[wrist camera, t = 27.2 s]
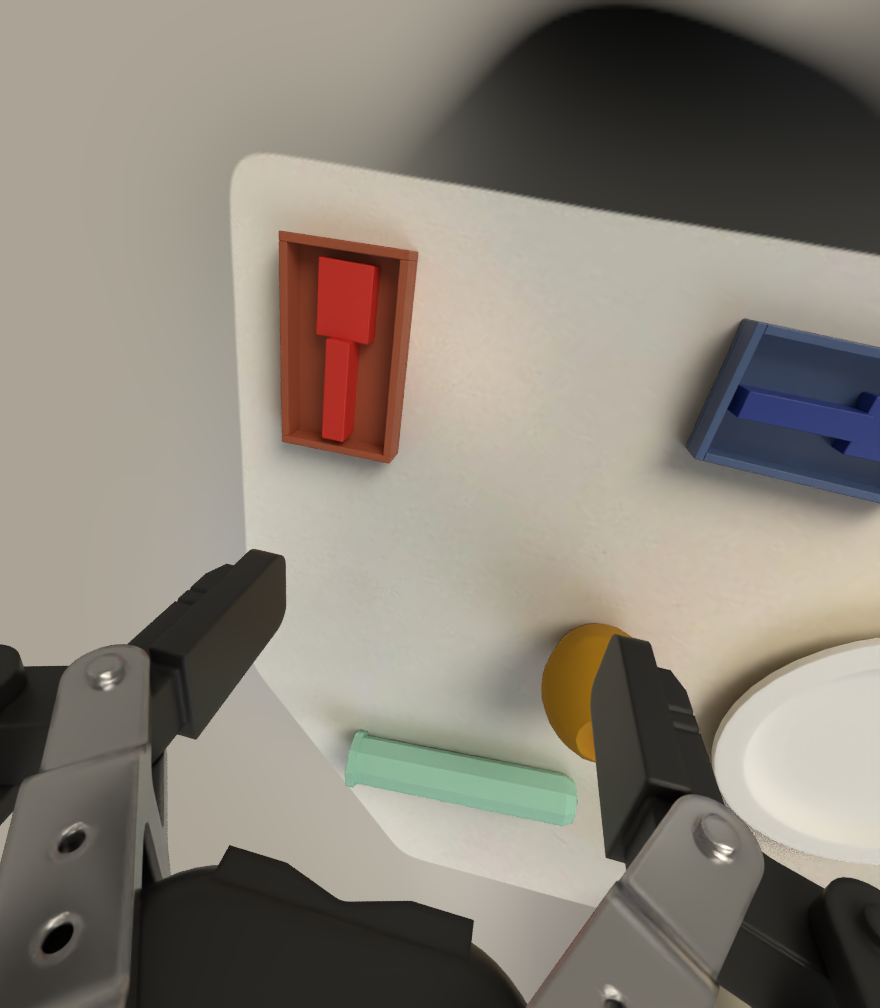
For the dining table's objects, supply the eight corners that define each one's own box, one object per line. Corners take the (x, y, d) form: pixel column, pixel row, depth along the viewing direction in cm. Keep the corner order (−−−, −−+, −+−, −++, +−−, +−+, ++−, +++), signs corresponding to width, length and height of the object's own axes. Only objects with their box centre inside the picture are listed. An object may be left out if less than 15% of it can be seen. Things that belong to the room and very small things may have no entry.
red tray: (295, 232, 35) (278, 230, 33) (418, 251, 34) (409, 250, 32) (295, 432, 42) (281, 441, 40) (398, 453, 41) (389, 463, 39)
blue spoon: (718, 423, 34) (730, 433, 32) (743, 367, 33) (757, 373, 31) (909, 463, 33) (934, 476, 31) (947, 407, 31) (976, 417, 29)
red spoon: (366, 436, 40) (356, 445, 38) (320, 426, 41) (308, 434, 38) (381, 266, 34) (370, 266, 32) (327, 256, 35) (313, 255, 33)
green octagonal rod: (583, 830, 48) (340, 779, 51) (572, 838, 52) (349, 791, 55) (583, 764, 52) (357, 721, 55) (572, 778, 56) (364, 737, 59)
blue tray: (684, 447, 36) (694, 458, 34) (743, 318, 32) (758, 321, 30) (898, 498, 35) (922, 513, 33) (988, 370, 31) (1023, 378, 28)
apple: (558, 687, 48) (562, 801, 38) (527, 611, 45) (522, 713, 35) (661, 672, 45) (696, 791, 35) (635, 589, 42) (665, 693, 32)
